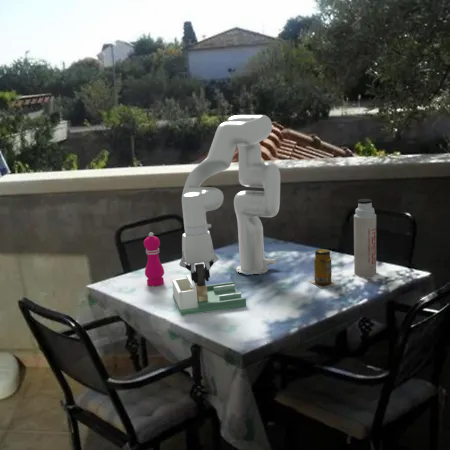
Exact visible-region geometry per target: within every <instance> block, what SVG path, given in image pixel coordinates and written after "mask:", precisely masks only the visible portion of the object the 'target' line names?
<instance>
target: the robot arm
mask: <svg viewBox="0 0 450 450" xmlns="http://www.w3.org/2000/svg"><path fill="white" fill-rule="evenodd" d="M272 130H273V124H272V120H271V118H270V117H269V116H267V115H265V114H237V115H232V116H230V117H228V118H227V120H226V121H224V122H222V123H220V124H219V125H218V127H217V128H216V131H215V134H214V137H213V140H212V143H211V144H210V145H211V146H210V147H209V151H208V154H207V156H206V158H205V159H204V160H202V161H201V162H200V163H199V164H197V166H195V167H194V169H192V170H191V171H190V173H189V175H188V176H187V178H186V180H185V184H184V186H183V190H182V193H181V207H182V209H181V210H182V216H183V227H184V233H182V237H181V249H182V250H181V253H182V257H181V259H180V262H179V263H178V265H179V266H180V267H182V268H184V269H187V270H188V271H189V272H190V277H191V279H192V281H193V283H194V284H195V283H197V276H196V272H195V265H196V264H204V273H205V282H210V281H209V280H210V279H209V278H211V274H210V270H211V268H212V266H213V265H214V264H215V263H216V262H217V261H219V256H217V254H216V252H214V246H213V245H214V244H213V241H212V236H211V233H210V231H209V229H211V228H212V223H208V221H207V212H209V211H215V210H217V209H219V208H220V207H221V206H222V204H223V203H224V200H225V199H224V198H225V197H224V193H223V192H222V190H221V189H219V188H216V187H211V186H210V187H209V186H208V187H207V186H201V185H202V184H203V183H204V182H205V181H206V180H207V179H209V178H210V177H212V176H215V175H218V173H221V172H224V171H226V170H228V169H229V168H230V166H231V164H232V160H233V158H234V155H235V152H236V149H237V150H238V183H239V184H240V185H241V186H244V187H247V188H260V189H263V191H262V190H241V191H239V192H237V193H236V194H235V196H234V198H233V206H234V208H233V209H234V212H235V216H236V221H237V233H238V235H237V237H238V251H239V252H238V253H239V254H238V255H239V265H238V266H237V267H235V269H236V272H237V273H238V272H239V273H252V274H259V275H262V274H265V273H267V272H269V266H270V265H277V263H278V262H277V259H276V258H274V259H273V258H271V257H270V258H266V257H265V249H264V227H263V223H262V220H261V219H260V218H273V217H276V216H277V214H278V213H279V210H280V204H281V203H280V202H281V172H280V169H279V166H278V165H277V164H276V163H273V162H270V161H269V162H267V161H264V162H263V160H262V148H261V145H260V143H261V142H262V141H264V140H266V139H267V138H268V137H269V136H270V135H271V134H272V133H271V132H272ZM239 273H238V274H239Z"/></svg>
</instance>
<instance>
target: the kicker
mask: <svg viewBox="0 0 450 450" xmlns="http://www.w3.org/2000/svg"><path fill="white" fill-rule="evenodd" d="M204 268H205V264H204V263H196V264H195V269H194V270H195V272H196V276H197V283H194V284H195V286H196V289H197V299H198V301H199V302H202V301H208V294H207V286H206V285H207V284H206V280H205V273H204Z"/></svg>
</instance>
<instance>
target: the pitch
mask: <svg viewBox="0 0 450 450" xmlns="http://www.w3.org/2000/svg"><path fill="white" fill-rule="evenodd" d="M232 284H234V281H228V282H221V283H220V282H219V283H214V284H206V286H207V294H208V301H202V302H199V301H198V299H197V303H198V307H197V308H190V309H183V310H180V309H179V307H178V305H177V302H176V300H175V298H174V296H173V295H172V298H173V301H174V302H175V305H176V307H177V309H178V312H179V313H180V316H181V315H182V316H187V315H194V314H202V313H208V312H209V313H210V312H216V311H222V310H228V309H235V308H243V307H247V298H246V297H243V296H241V298H238V299H231V300H224V301H219V295H226V294H233V293H239V292H238V289H236V288H235V290H234V291H227V292H219V293H214V287H218V286H225V285H232ZM234 285H235V284H234ZM190 289H192V287H191V286H190Z"/></svg>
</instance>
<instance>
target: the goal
mask: <svg viewBox="0 0 450 450" xmlns="http://www.w3.org/2000/svg"><path fill="white" fill-rule="evenodd" d="M171 281H172V283H171V284H172V292H173V293H172V297H173V296H174V298H175V300H176V302H177V305H178V307H179V309H180V310H183V309H190V308H197V307H198V303H197V289H196V286H195V283H194V281H192V279H191V275H190V274H186V275H185V277H182V278H174V279H172V280H171ZM190 287H192V289H193V290H189V289H190ZM174 298H173V299H174ZM177 305H176V306H177ZM178 307H177V308H178Z"/></svg>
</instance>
